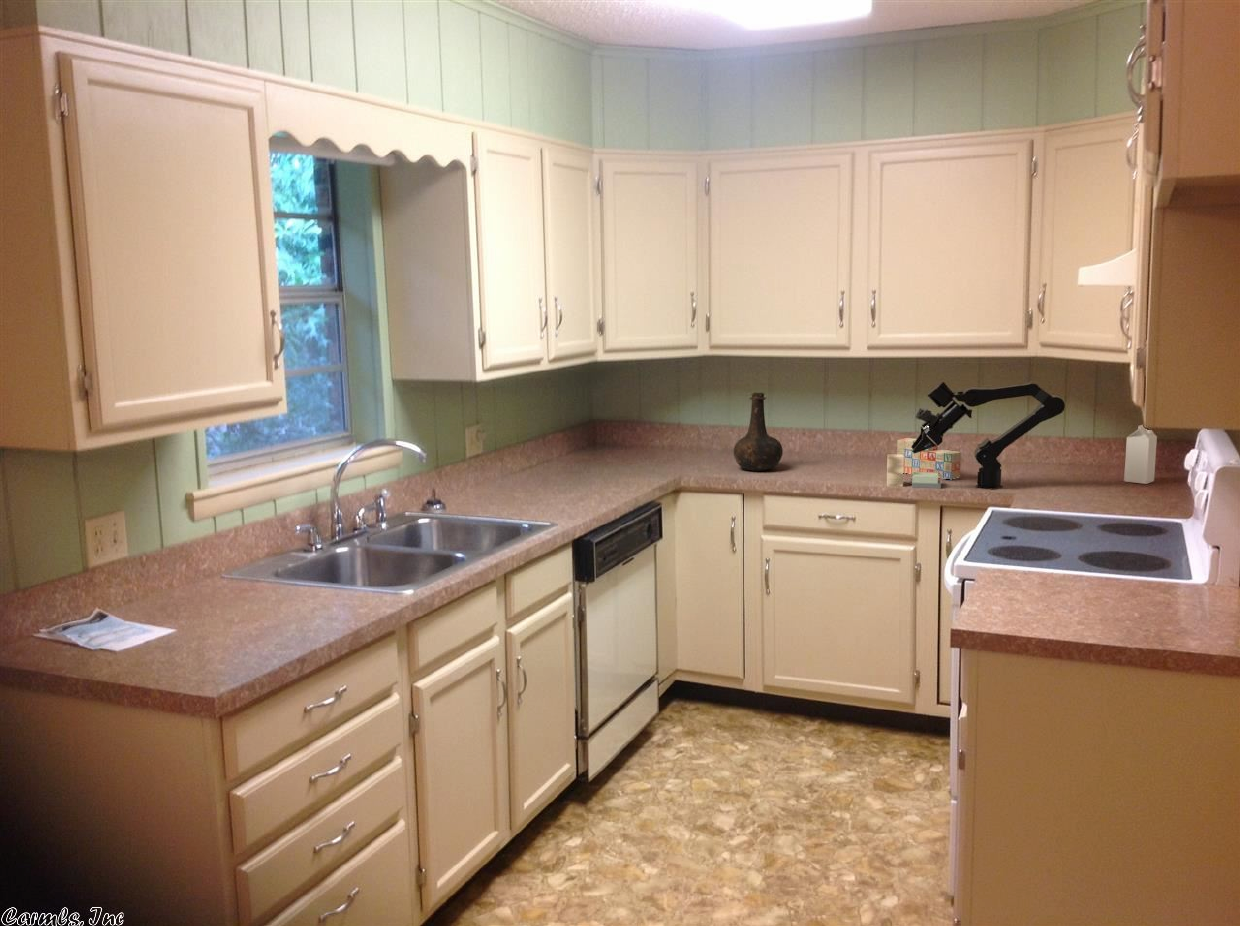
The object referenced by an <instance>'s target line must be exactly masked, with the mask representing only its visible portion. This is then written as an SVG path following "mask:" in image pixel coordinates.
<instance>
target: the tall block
mask: <svg viewBox="0 0 1240 926" xmlns="http://www.w3.org/2000/svg"><path fill="white" fill-rule="evenodd" d="M903 461H904V456H903V454H897V453H896V454H895V453H894V454H893V453H892V454H891V453H890V454H889V453H888V454H887V461H886V462H887V463H886V465H887V466H886V486H887V487H893V486H894V487H893V488H895V487H896V488H897V487H898V488H899V487H900V488H903V487H904V474H903Z"/></svg>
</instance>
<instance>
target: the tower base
mask: <svg viewBox="0 0 1240 926" xmlns="http://www.w3.org/2000/svg"><path fill="white" fill-rule="evenodd" d="M910 484H912V485H911V489H929V490H930V489H933V490H935V489H936V490H938V489H939V490H940V489H942V488H941V487H942V483H941V479H938V484H933V483H912V477H911V478H910Z"/></svg>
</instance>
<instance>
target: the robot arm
mask: <svg viewBox="0 0 1240 926" xmlns="http://www.w3.org/2000/svg"><path fill="white" fill-rule="evenodd" d="M926 396H927V398H929V399H930V400H931V402H933V403H934V404H935V406H937V407H938V408H941V407H942V408H945V409H943V411H941V412H937V413H936V414H934V413H933V412H932V411H931V410H929V409H927V408H926V409H924V408H921V407H919V409H918V410H917V413H916V414H915V419H917V420H921V421H923V423H922V424H921V426H920V433H919V435H918V436H917V438H915V439H916V441H915V442H914V443H913V445H912V446H911V448H912V449H914V450H913V451H912V452H913V453H914V454H915V453H918V452H921V451H923V450H926V449H929V448H932V447H936V446H937V447H938V446H939V445H941V444H942V443H943V437H945V436H944V435H945V434H946V432H948V431H949V430H950V429H951V430H952V429H953V428H954V426H955V425H956V424H957V423H958V422H959V421H961V419H962V418H964V417H965V416H967V417H968V418H969V419H972V412H973V409H972V408H974V407H978V406H981V405H984V404H986V403H990V402H992V401H997V400H998V401H999V400H1004V399H1005V400H1006V399H1007V400H1008V399H1013V398H1019V397H1020V398H1021V397H1027V396H1031V397H1032V398H1033V399H1036V400H1037V402H1039V404H1038V405H1037V406H1036V407H1035V409H1034V410H1033V411H1032V412H1031V413H1029V414H1028V415H1027V416H1026V417H1024V418H1023V419H1021V420H1020V421H1018V422H1017V423H1015V424H1014V425H1013V426H1012V427H1010V428H1009V429H1008V430H1006V431H1005V432H1004V433H1002V434H1000V435H999V436H998V437H996V438H994V439H991V440H990V438H989V437H986V438H985V439H984V440H983V441H982V442H981V443H978V444H977V446H976V448H975V449H974V452H973V455H974V458H975V460H976V461H977V463H978V464H980V466H981V467H978V472H977V476H976V477H977V481H976V483H977V484H976V485H975V487H976V486H978V487H977V488H981V487H985V488H984V489H988V488H992V489H991V490H995V489H994V488H997V489H999V488H998V487H1000V488H1003V487H1004V485H1003V484H1002V468H1001V467H1002V464H1001V462H1000V461H999V460H998V459H997V458H998V457H1000V455H1001V454H1002V452H1003V451H1004V450H1005V449H1006V448H1008V447H1009V446H1010V445H1011V444H1013V443H1014V442H1015V441H1017V440H1018V439H1021V437H1023V436H1024V435H1025V434H1027V433H1029V432H1030V431H1031V430H1032V429H1034V428H1035V427H1036V426H1038V425H1039V424H1040V423H1042V422H1045V421H1047V420H1050V419H1052V418H1055V417H1056V416H1058V415H1060V414H1062V413H1063V412H1064V411H1065V408H1066V405H1065V401H1064V400H1063V399H1062V398H1061V397H1060V396H1057V395H1053V394H1050V393H1048V392H1047V391H1045V390H1044V389H1043V388H1041V387H1040V386H1039V384H1037V383H1036V382H1030V381H1029V382H1027V383H1021V384H1013V385H1006V386H999V387H992V388H991V387H989V388H988V387H976V386H974V387H967V388H965V389H964V390H962V391H955V392H954V391H953V390H951V389H950V387H948V386H947V384H946V383H945V382H944V381H942V382H940V383H939V384H937V385H936V386H934V387H933V388H932V389H931V390H930V391H929V392H928V393H927V394H926ZM954 398H955V399H956V400H957V401H958V402H962V403H960V404H959V403H958V402H957V401H956V400H955V399H954ZM964 404H965V405H964ZM966 406H968V407H971V408H967V407H966ZM935 443H936V444H937V445H936V444H935ZM1002 486H1003V487H1002Z"/></svg>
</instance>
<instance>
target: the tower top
mask: <svg viewBox="0 0 1240 926" xmlns="http://www.w3.org/2000/svg"><path fill="white" fill-rule="evenodd" d="M911 476H912V475H911ZM911 478H912V483H933V484H938V473H925V472H913V476H912V477H911Z"/></svg>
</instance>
